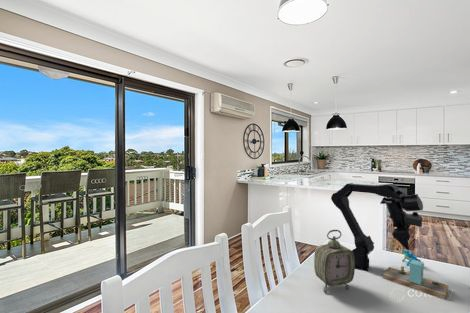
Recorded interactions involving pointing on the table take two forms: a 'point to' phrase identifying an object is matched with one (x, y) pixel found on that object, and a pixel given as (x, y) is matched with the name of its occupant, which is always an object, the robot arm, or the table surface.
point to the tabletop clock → (334, 263)
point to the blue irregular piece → (409, 257)
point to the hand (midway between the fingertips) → (408, 244)
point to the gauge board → (426, 285)
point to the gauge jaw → (416, 271)
